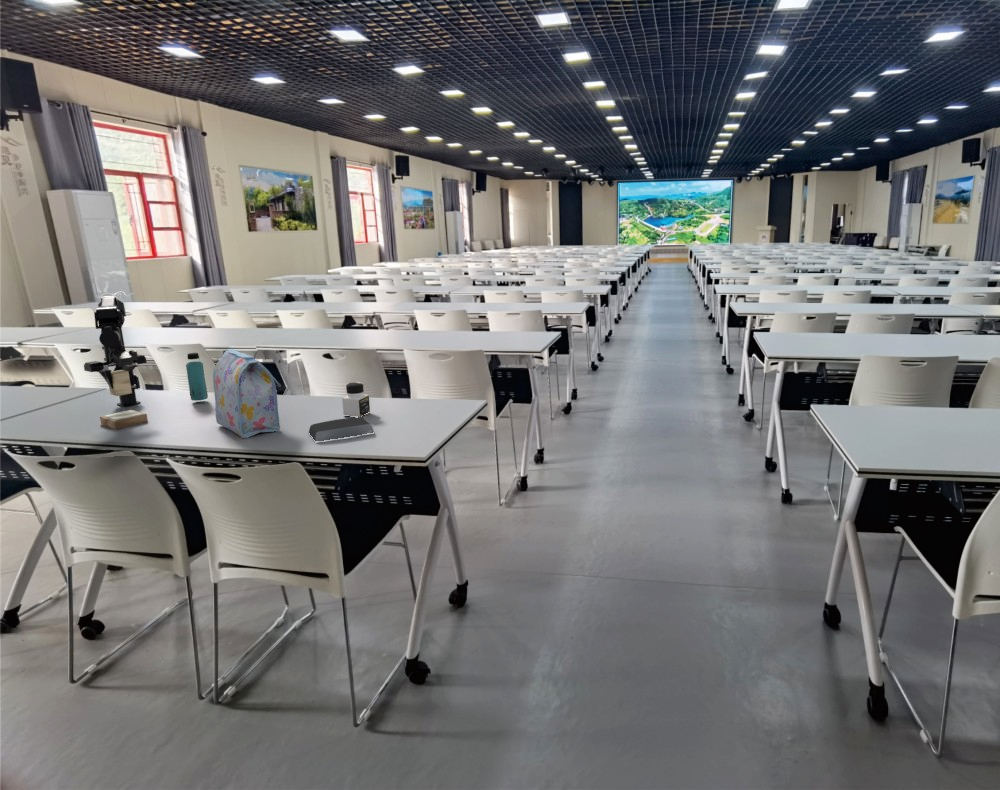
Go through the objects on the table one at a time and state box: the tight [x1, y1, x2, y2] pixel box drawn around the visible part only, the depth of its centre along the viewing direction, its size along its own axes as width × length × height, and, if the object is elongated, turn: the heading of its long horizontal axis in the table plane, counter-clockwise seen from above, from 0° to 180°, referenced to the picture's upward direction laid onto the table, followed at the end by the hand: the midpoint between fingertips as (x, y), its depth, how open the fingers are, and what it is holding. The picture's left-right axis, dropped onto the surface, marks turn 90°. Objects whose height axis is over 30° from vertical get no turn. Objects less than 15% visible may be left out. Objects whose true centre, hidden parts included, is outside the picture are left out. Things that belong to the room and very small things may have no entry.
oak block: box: [108, 370, 132, 397], centre depth 230 cm, size 5×5×8 cm
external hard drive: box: [308, 416, 375, 441], centre depth 216 cm, size 13×19×4 cm
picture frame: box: [99, 409, 149, 430], centre depth 233 cm, size 11×11×3 cm
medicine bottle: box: [341, 381, 371, 417], centre depth 237 cm, size 7×7×12 cm
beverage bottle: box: [185, 352, 209, 402], centre depth 258 cm, size 6×7×20 cm
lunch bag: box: [212, 348, 282, 439], centre depth 222 cm, size 22×17×26 cm
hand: (119, 386), depth 231 cm, fingers closed on oak block, 5 cm apart
